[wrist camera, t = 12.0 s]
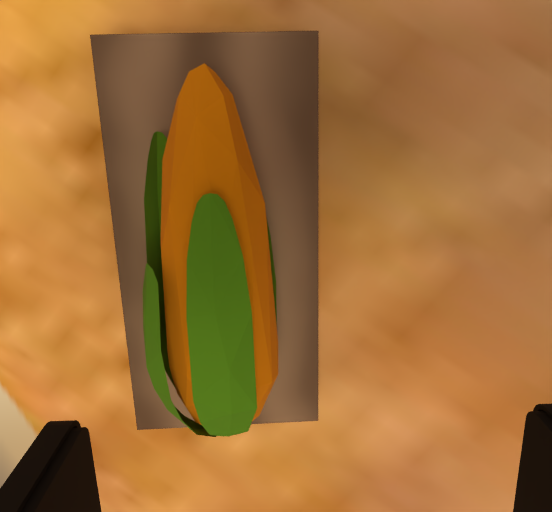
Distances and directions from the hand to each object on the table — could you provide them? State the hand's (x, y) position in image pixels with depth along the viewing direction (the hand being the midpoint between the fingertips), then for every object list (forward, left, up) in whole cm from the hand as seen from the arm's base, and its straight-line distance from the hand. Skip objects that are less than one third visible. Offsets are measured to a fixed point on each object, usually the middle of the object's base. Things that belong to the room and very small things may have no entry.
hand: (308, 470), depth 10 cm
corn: (+4, 0, -20) cm, 20 cm away
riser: (+3, +1, -24) cm, 24 cm away
